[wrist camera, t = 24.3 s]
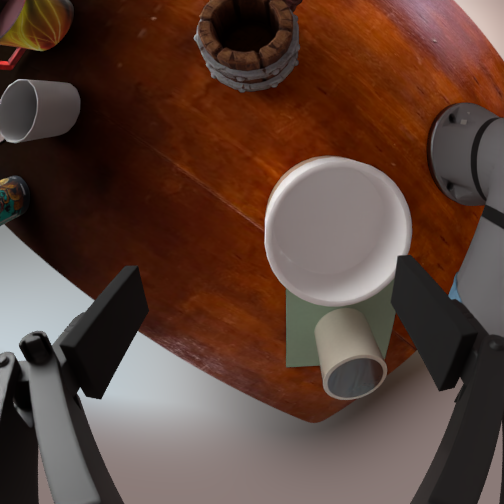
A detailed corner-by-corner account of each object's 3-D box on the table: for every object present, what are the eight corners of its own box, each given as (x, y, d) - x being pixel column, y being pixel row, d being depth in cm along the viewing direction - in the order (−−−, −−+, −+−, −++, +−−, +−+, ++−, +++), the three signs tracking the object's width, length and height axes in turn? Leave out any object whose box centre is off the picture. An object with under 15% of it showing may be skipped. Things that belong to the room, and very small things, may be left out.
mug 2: (180, 64, 33) (155, 13, 19) (252, -3, 31) (262, -68, 17) (251, 116, 36) (263, 85, 21) (320, 45, 34) (361, -6, 19)
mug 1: (13, 69, 32) (-36, 68, 21) (46, -3, 27) (1, -19, 16) (46, 79, 34) (-6, 77, 23) (83, 1, 29) (38, -21, 18)
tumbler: (312, 353, 49) (316, 308, 46) (363, 349, 49) (371, 306, 45) (319, 402, 39) (326, 357, 36) (379, 396, 39) (393, 351, 35)
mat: (401, 267, 43) (403, 269, 43) (384, 356, 50) (384, 358, 50) (285, 273, 44) (285, 275, 44) (286, 365, 51) (286, 367, 51)
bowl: (359, 134, 36) (382, 134, 29) (402, 246, 41) (427, 270, 34) (241, 190, 40) (235, 204, 32) (297, 295, 45) (303, 328, 37)
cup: (89, 100, 35) (47, 99, 26) (62, 145, 38) (19, 155, 29) (58, 73, 33) (16, 68, 24) (33, 116, 36) (-10, 121, 27)
